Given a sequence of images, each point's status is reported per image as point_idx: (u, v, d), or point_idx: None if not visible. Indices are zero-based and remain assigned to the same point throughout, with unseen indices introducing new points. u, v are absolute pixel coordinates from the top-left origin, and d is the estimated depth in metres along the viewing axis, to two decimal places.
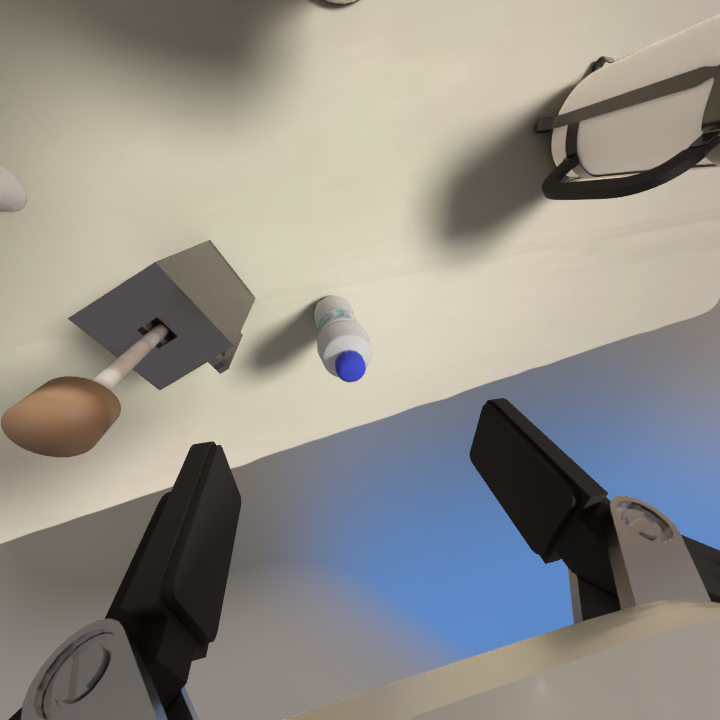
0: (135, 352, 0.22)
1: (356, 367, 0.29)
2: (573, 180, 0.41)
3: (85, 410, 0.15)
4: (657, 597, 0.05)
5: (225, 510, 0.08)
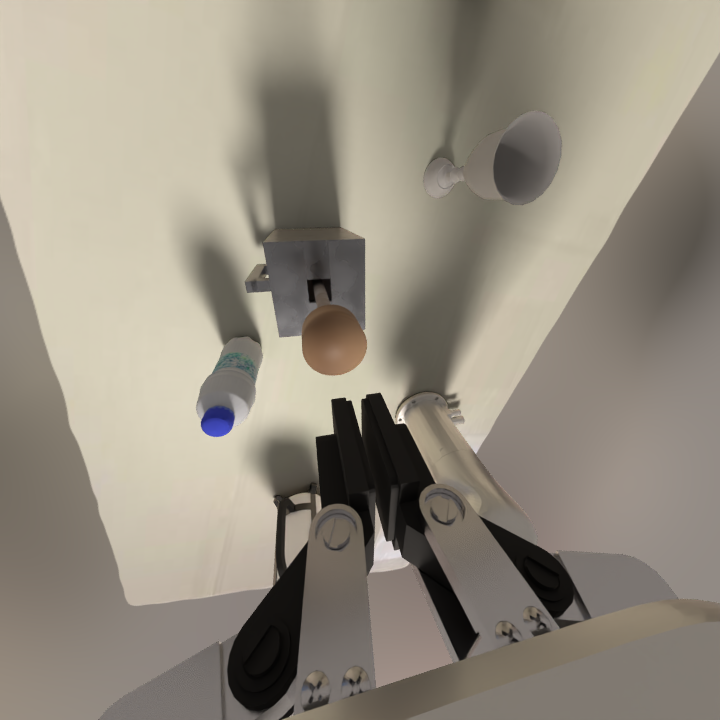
0: None
1: (219, 433, 0.31)
2: (278, 507, 0.65)
3: None
4: (486, 593, 0.05)
5: None
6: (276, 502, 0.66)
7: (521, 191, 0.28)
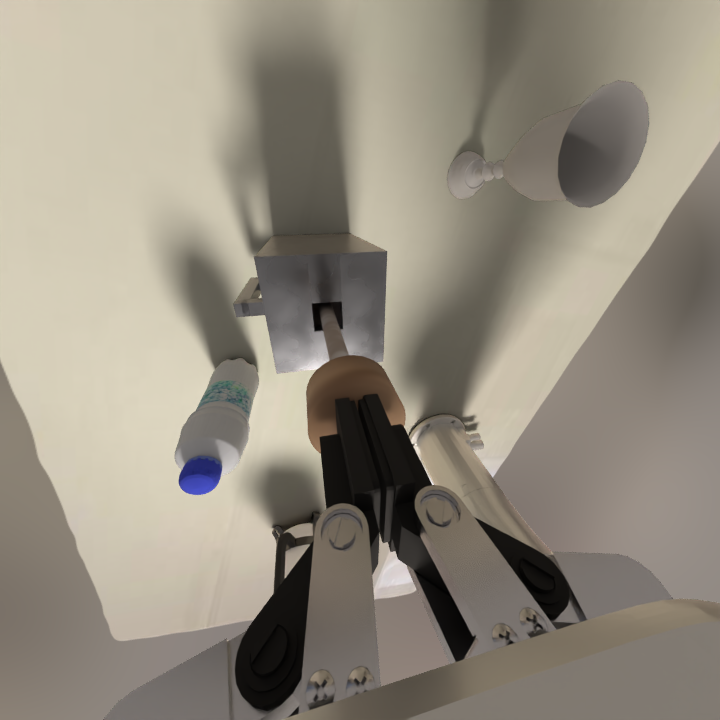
0: None
1: (202, 491, 0.25)
2: (277, 539, 0.59)
3: None
4: (483, 595, 0.05)
5: None
6: (275, 534, 0.60)
7: (584, 190, 0.22)
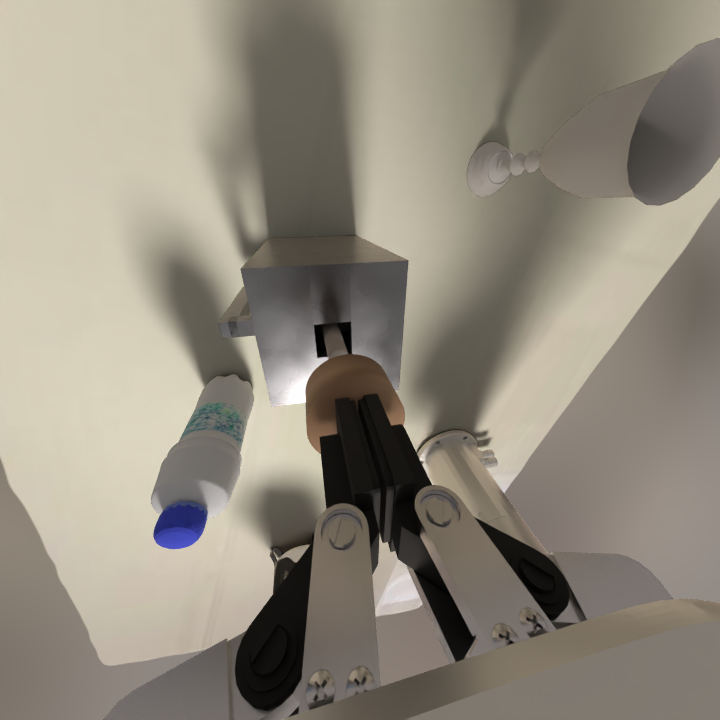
0: None
1: (182, 545, 0.20)
2: (275, 562, 0.55)
3: None
4: (482, 595, 0.05)
5: None
6: (273, 557, 0.56)
7: (647, 184, 0.18)
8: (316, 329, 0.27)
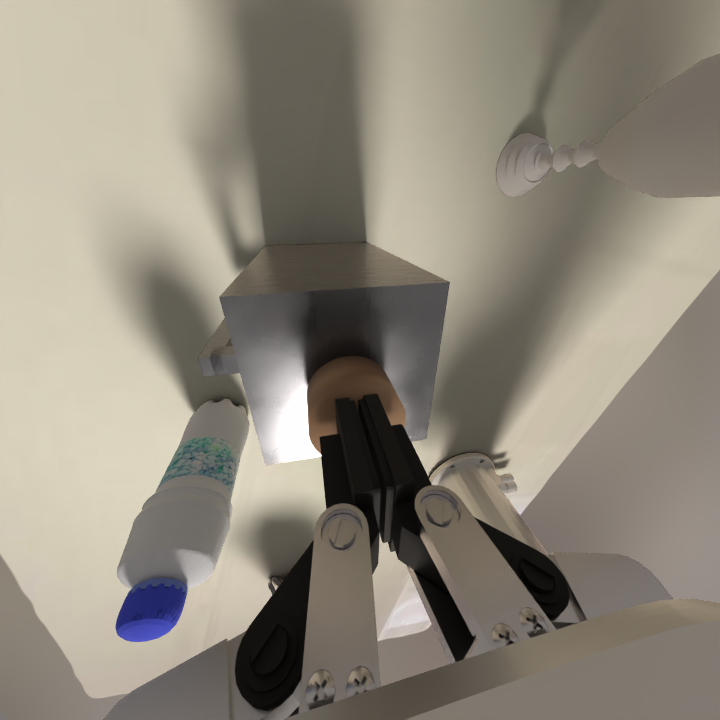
0: None
1: (153, 638, 0.16)
2: None
3: None
4: (483, 595, 0.05)
5: None
6: (271, 588, 0.52)
7: None
8: None
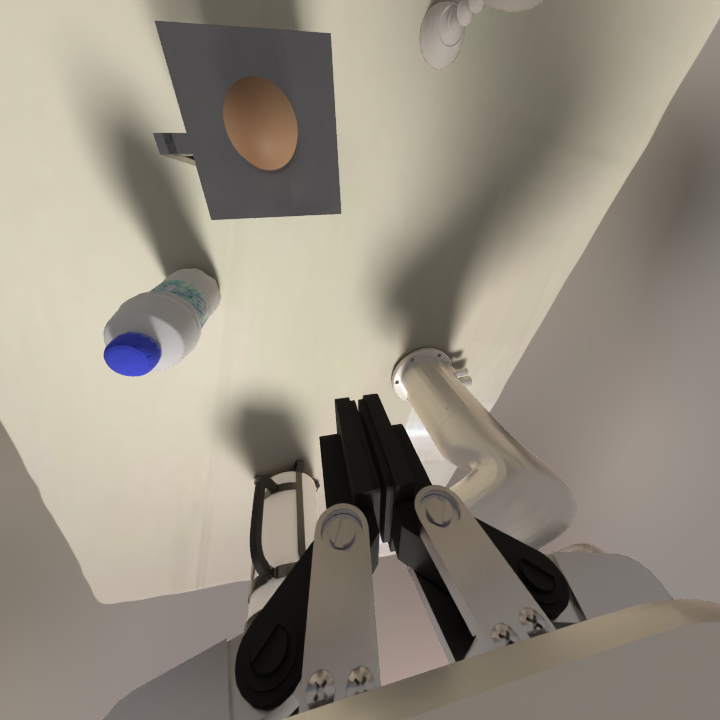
0: None
1: (134, 369, 0.21)
2: None
3: (268, 168, 0.17)
4: (483, 595, 0.05)
5: None
6: None
7: None
8: None
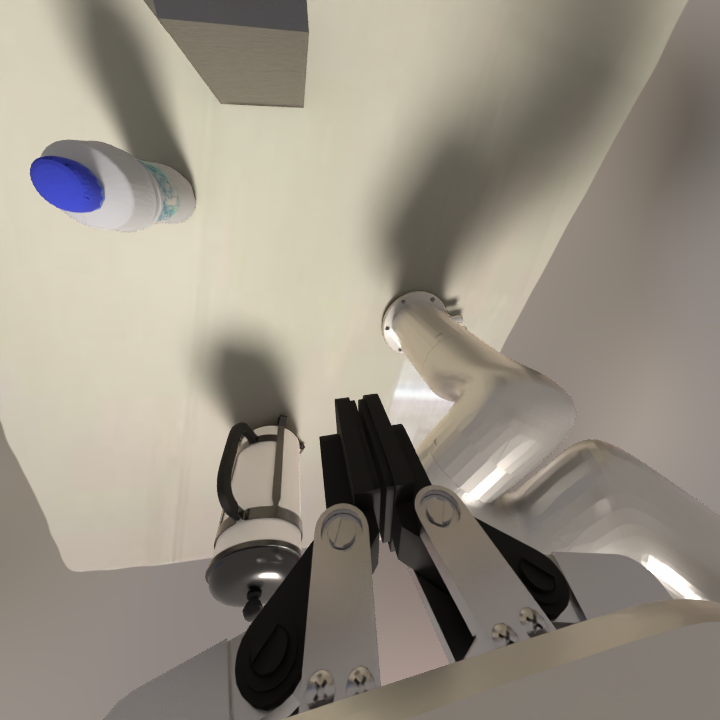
0: None
1: (66, 196, 0.18)
2: (239, 442, 0.53)
3: None
4: (483, 595, 0.05)
5: None
6: None
7: None
8: None
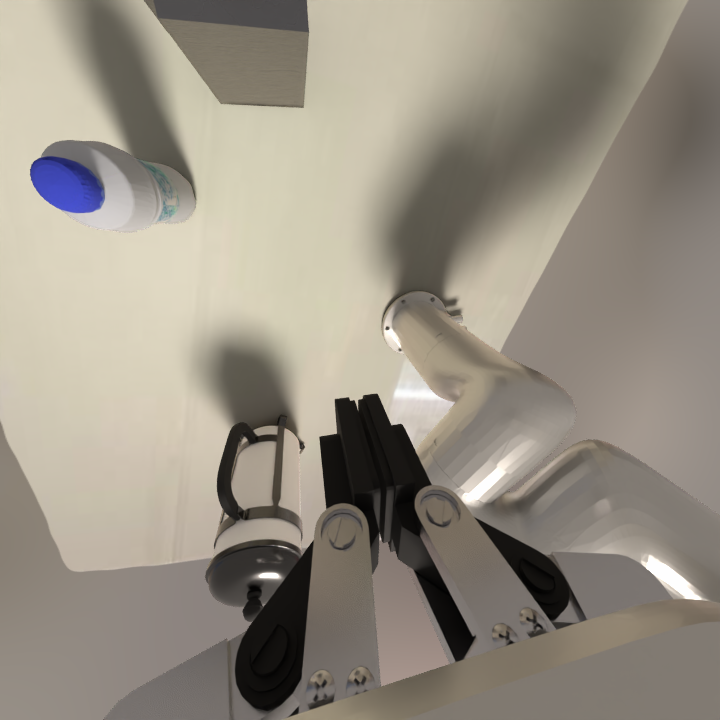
0: None
1: (66, 196, 0.18)
2: (239, 442, 0.53)
3: None
4: (483, 595, 0.05)
5: None
6: None
7: None
8: None
